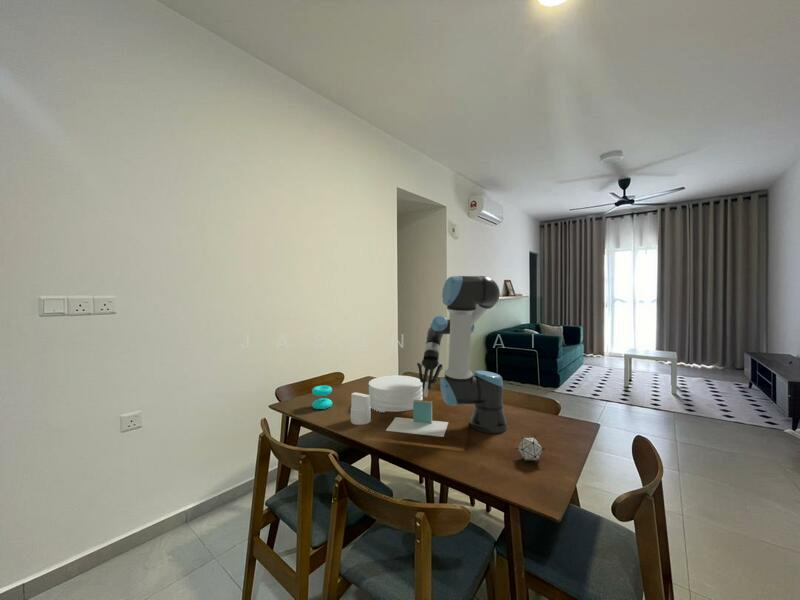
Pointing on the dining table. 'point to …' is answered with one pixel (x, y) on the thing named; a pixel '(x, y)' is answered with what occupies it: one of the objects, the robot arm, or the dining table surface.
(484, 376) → the robot arm
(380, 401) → the plate stack
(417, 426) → the cutting board
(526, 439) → the game die
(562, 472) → the dining table surface
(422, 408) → the teal rectangular slab
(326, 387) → the donuts
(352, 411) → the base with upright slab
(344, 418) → the dining table surface
